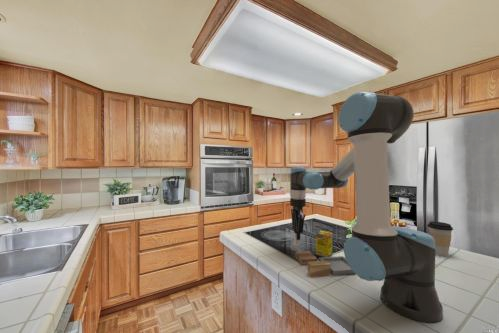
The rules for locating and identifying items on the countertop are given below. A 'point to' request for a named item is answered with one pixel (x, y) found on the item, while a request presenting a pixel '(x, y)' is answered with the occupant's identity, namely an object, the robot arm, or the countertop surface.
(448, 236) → the coffee cup
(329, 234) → the supplement box
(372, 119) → the robot arm
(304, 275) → the countertop surface
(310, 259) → the brown wooden block
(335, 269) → the tray
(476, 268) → the countertop surface
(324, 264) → the block
